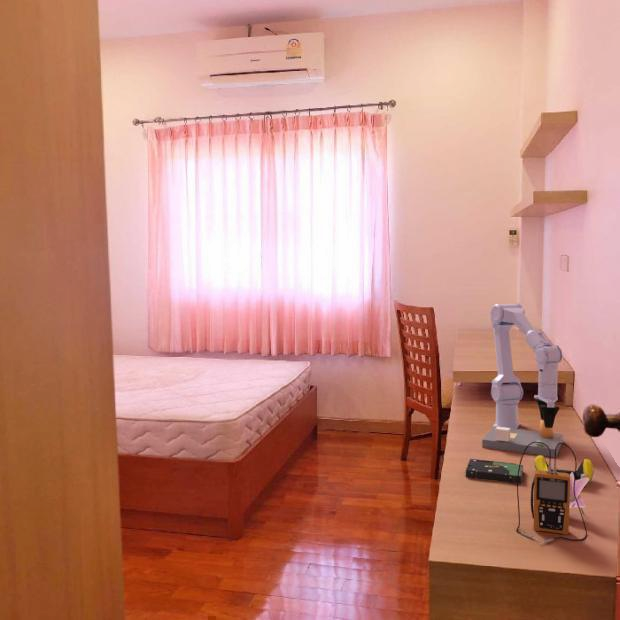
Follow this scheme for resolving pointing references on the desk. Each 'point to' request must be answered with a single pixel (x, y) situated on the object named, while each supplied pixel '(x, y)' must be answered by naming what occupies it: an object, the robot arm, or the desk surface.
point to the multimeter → (550, 500)
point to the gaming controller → (582, 472)
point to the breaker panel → (524, 442)
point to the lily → (577, 491)
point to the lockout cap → (545, 430)
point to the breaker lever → (502, 434)
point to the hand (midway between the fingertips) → (546, 424)
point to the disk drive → (494, 471)
